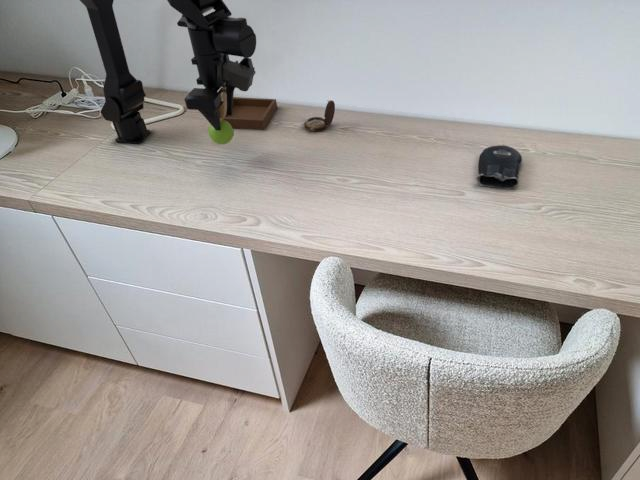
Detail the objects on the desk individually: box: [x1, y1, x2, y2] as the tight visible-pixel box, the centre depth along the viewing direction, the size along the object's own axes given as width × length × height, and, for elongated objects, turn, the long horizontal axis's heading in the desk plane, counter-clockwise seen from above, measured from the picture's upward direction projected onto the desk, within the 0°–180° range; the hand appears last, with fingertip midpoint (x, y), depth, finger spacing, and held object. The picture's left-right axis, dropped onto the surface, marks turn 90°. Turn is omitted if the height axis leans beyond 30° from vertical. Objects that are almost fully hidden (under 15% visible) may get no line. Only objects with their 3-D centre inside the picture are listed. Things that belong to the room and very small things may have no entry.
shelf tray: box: [223, 96, 278, 131], centre depth 131 cm, size 13×13×3 cm
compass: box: [304, 99, 336, 133], centre depth 125 cm, size 8×8×7 cm
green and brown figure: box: [208, 87, 235, 145], centre depth 109 cm, size 5×6×12 cm
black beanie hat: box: [475, 144, 523, 190], centre depth 110 cm, size 9×6×15 cm
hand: (224, 122), depth 110 cm, fingers closed on green and brown figure, 7 cm apart
